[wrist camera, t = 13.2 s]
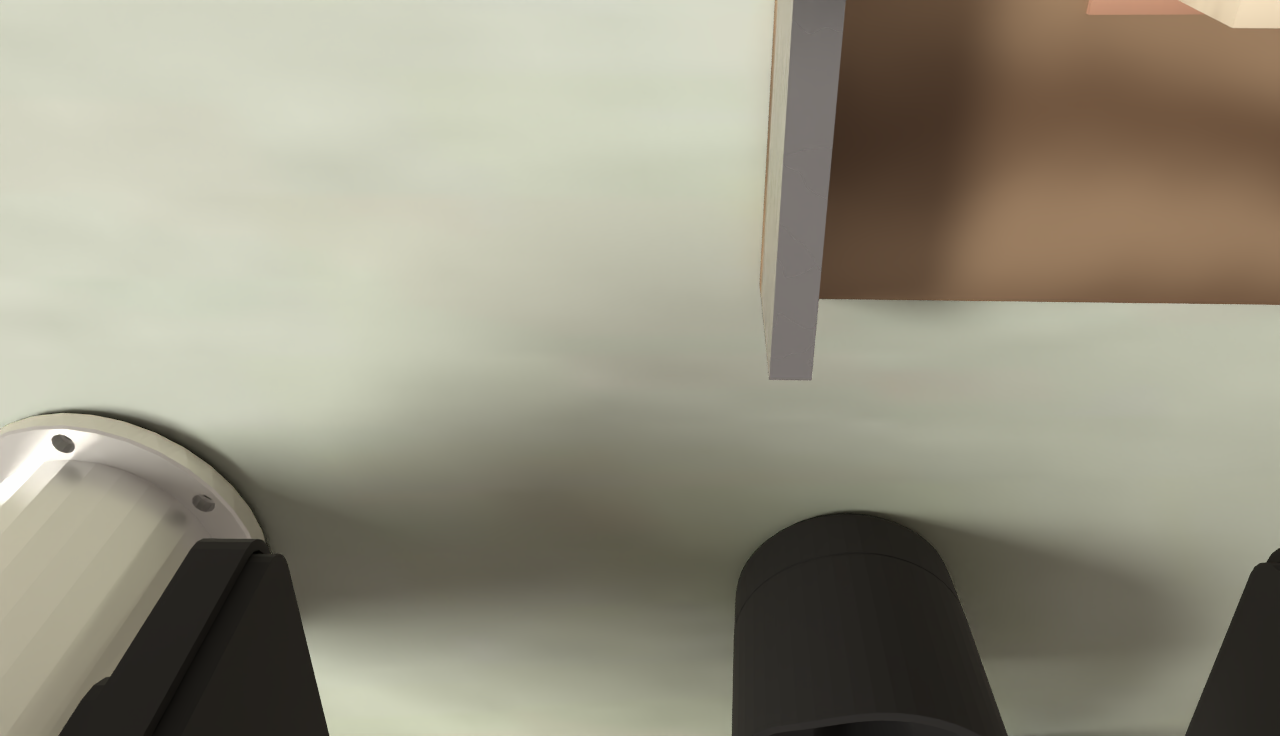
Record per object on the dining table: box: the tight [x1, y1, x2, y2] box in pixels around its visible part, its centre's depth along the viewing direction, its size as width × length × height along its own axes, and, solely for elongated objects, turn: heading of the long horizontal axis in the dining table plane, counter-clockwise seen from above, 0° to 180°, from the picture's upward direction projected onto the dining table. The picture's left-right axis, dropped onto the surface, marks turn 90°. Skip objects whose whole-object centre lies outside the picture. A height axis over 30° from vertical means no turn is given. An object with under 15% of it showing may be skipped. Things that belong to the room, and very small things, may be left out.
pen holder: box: [732, 514, 1008, 736], centre depth 36 cm, size 9×9×10 cm
